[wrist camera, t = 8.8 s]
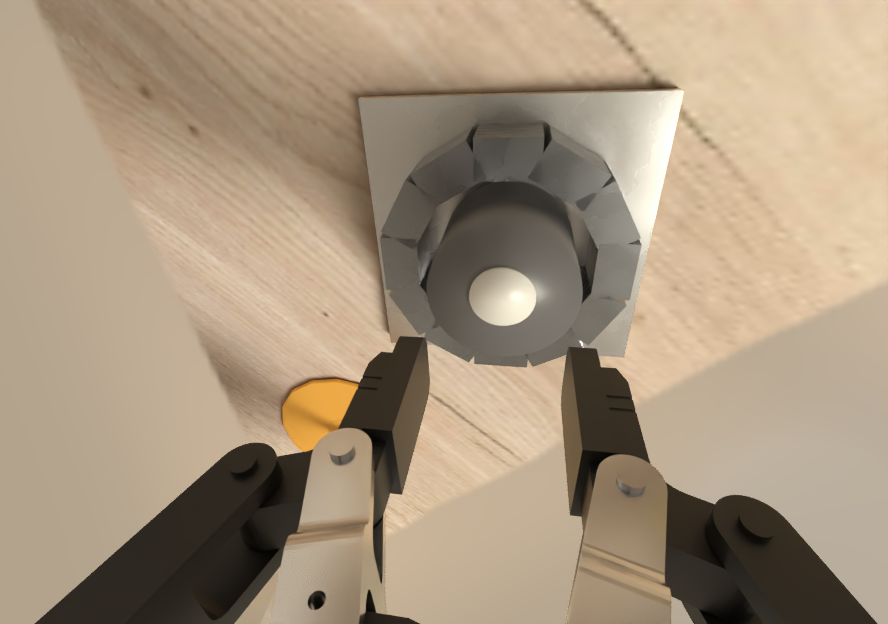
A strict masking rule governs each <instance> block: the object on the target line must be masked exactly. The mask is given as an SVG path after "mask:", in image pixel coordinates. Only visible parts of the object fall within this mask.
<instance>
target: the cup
mask: <svg viewBox="0 0 888 624" xmlns="http://www.w3.org/2000/svg"><path fill="white" fill-rule="evenodd" d="M358 385H359V384H356V383H352V382H348V381H344V380H341V379H327V380H312V381H310V382H307V383H305V384H303V385H301V386H299V387H297V388H295V389H293V390H292V392H291V393H290V395H289V396H288V398H287V399H286V401H285V402H284V404H283V406H282V417H283V425H284V427H285V429H286V431H287V433H288V435H289V436H290V438H291V440H292V442H293V443H294V444H295V445H296V446H297V447H298V448H299V449H300V450H301V451H303V452H306V451H310V450H312V449H314V447H315V445H316V444H317V443H318V441H319V440H320V439H321V438H323V437H324V436H325V435H327V434H328V433H330V432H332V431H335V430H338V428H339V426H340V424H341V421H342V419H343V417H344V415H345V413H346V411H347V409H348V407H349V404H350V402H351V400H352V398H353V396H354V394H355V392H356V389H358ZM280 567H281V566H280ZM280 567H279V569H278V570H277V571H276V572H275V574H274V575H273V576H272V577H271V579H270V580H269V581H268V582H267V584H266V585H265V586H264V587H263V589H262V590H261V591H260V592H259V594H258V595H257V596H256V597H255V599H254V600H253V601H252V602H251V604H250V605H249V606H248V607H247V609H246V610H245V611H244V612H243V613H242V615H241V616H240V617H239V618H238V620H237V621H236V622H235V623H234V624H269V621H270V616H271V611H272V606H273V601H274V596H275V591H276V586H277V581H278V576H279V572H280Z"/></svg>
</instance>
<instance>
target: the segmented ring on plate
mask: <svg viewBox="0 0 888 624" xmlns="http://www.w3.org/2000/svg"><path fill="white" fill-rule="evenodd" d="M683 94H684V90H682V89H680V88H667V89H628V90H589V91H551V92H512V93H473V94H434V95H396V96H363V97H360V98H358V101H359V108H360V116H361V123H362V131H363V138H364V146H365V153H366V161H367V168H368V175H369V183H370V190H371V198H372V205H373V213H374V220H375V228H376V235H377V242H378V250H379V257H380V265H381V272H382V280H383V287H384V295H385V302H386V310H387V317H388V324H389V332H390V339H391V342H392V343H397V341H398V338H399V337H400V336H409V337H425V338H426V341H427V345H437V346H438V347H440V348H442V349H444V350H446V351H448V352H450V353H452V354H454V355H456V356H458V357H460V358H462V359H464V360H466V361H468V362H469V361H470V360H471V359H472V358H473V356H474V363H475V364H485V365H499V366H513V367H527V359H528V360H529V362H530V363H531V365H532V366H536V365H539V364H542V363H545V362H547V361H550V360H553V359H556V358H559V357H561V356H564V355H567V350H568V347H581V348H596V349H597V352H598V356H610V357H624V354H625V349H626V345H627V341H628V336H629V332H630V327H631V323H632V318H633V314H634V310H635V305H636V301H637V296H638V292H639V288H640V283H641V279H642V274H643V270H644V266H645V261H646V257H647V252H648V248H649V243H650V239H651V235H652V230H653V226H654V221H655V217H656V213H657V208H658V204H659V199H660V195H661V191H662V186H663V182H664V177H665V173H666V169H667V164H668V160H669V155H670V151H671V146H672V142H673V138H674V133H675V129H676V124H677V120H678V116H679V111H680V107H681V102H682V98H683ZM497 182H522V183H527V184H530V185H533V186H536V187H538V188H540V189H542V190H544V191H546V192H547V193H548V194H550V195H551V196H552V197H554V198H555V199H556V200H557V201H558V202H559V204H560V205H561V206H562V207H563V209H564V210H565V212H566V214H567V216H568V218H569V221H570V224H571V228H572V232H573V237H574V243H575V248H576V253H577V258H578V264H579V269H580V274H581V279H582V287H583V296H582V303H581V308H580V310H579V313H578V316H577V318H576V319H575V321H574V323H573V324H572V326H571V327H570V328H569V330H568V331H567V332H566V333H565V334H564V335H563V336H562V337H561V338H559V339H558V340H557V341H555V342H554V343H553V344H551V345H549V346H547V347H546V348H543V349H541V350H539V351H536V352H533V353H530V354H525V355H520V356H493V355H488V354H483V353H480V352H477V351H474V350H472V349H469V348H467V347H465V346H463V345H462V344H460V343H458V342H457V341H455V340H454V339H453V338H451V337H450V336H449V335H448V334H447V333H446V332H445V331H444V330H443V329H442V328H441V326H440V325H439V324H438V322H437V321H436V319H435V318H434V316H433V314H432V312H431V309H430V306H429V303H428V298H427V280H428V275H429V271H430V268H431V265H432V263H433V260H434V258H435V255H436V253H437V250H438V248H439V245H440V243H441V240H442V237H443V235H444V232H445V230H446V227H447V225H448V222H449V220H450V218H451V215H452V213H453V212H454V210H455V209H456V207H457V206H458V205H459V204H460V202H461V201H462V200H463V199H464V198H466V197H467V196H468V195H469V194H471V193H472V192H474V191H475V190H477V189H479V188H481V187H483V186H486V185H489V184H492V183H497Z"/></svg>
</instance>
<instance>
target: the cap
mask: <svg viewBox="0 0 888 624" xmlns="http://www.w3.org/2000/svg"><path fill="white" fill-rule="evenodd" d="M582 296H583V287H582V279H581V274H580V269H579V264H578V258H577V253H576V248H575V243H574V237H573V232H572V228H571V224H570V221H569V218H568V216H567V214H566V212H565V210H564V209H563V207H562V206H561V205H560V204H559V202H558V201H557V200H556V199H555V198H554V197H552V196H551V195H550V194H548V193H547V192H546V191H544V190H542V189H540V188H538V187H536V186H533V185H530V184H527V183H522V182H497V183H492V184H489V185H486V186H483V187H481V188H479V189H477V190H475V191H474V192H472V193H471V194H469V195H468V196H467V197H466V198H464V199H463V200H462V201H461V202H460V204H459V205H458V206H457V207H456V209H455V210H454V212H453V213H452V215H451V218H450V220H449V222H448V225H447V227H446V230H445V232H444V235H443V237H442V240H441V243H440V245H439V248H438V250H437V253H436V255H435V258H434V260H433V263H432V265H431V268H430V271H429V275H428V280H427V298H428V303H429V306H430V309H431V312H432V314H433V316H434V318H435V319H436V321H437V322H438V324H439V325H440V326H441V328H442V329H443V330H444V331H445V332H446V333H447V334H448V335H449V336H450V337H451V338H453V339H454V340H455V341H457V342H458V343H460V344H462V345H463V346H465V347H467V348H469V349H472V350H474V351H477V352H480V353H483V354H488V355H493V356H520V355H525V354H530V353H533V352H536V351H539V350H541V349H543V348H546V347H547V346H549V345H551V344H553V343H554V342H555V341H557V340H558V339H559V338H561V337H562V336H563V335H564V334H565V333H566V332H567V331H568V330H569V328H570V327H571V326H572V324H573V323H574V321H575V319H576V318H577V316H578V313H579V310H580V308H581V303H582Z"/></svg>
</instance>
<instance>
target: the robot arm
mask: <svg viewBox="0 0 888 624" xmlns="http://www.w3.org/2000/svg"><path fill="white" fill-rule="evenodd" d="M429 385H430V377H429V364H428V352H427V341H426V338H425V337H409V336H400V337H399V338H398V341H397V343H396V346H395V348H394V350H393V353H388V352H381V353H380V354H378V355H377V356H376V357H375V358H374V359H373V360H372V361H371V362H369V364H368V366H367V368H366V370H365V372H364V375H363V379H361V381H360V383H359V385H358V389H356V392H355V394H354V396H353V398H352V400H351V402H350V404H349V407H348V409H347V411H346V413H345V415H344V417H343V419H342V421H341V424H340V426H339V428H338V430H335V431H332V432H330V433H328V434H327V435H325V436H324V437H323V438H321V439H320V440H319V441H318V443H317V444H316V445H315V447H314V449H312V450H310V451H306V452H301V453H295V454H290V455H284V456H278V457H277V455H276V453H275V451H274V449H273V448H272V447H270V446H269V445H267V444H264V443H249V444H245V445H242V446H239V447H237V448H235V449H233V450H231V451H230V452H228V453H227V454H226V455H225V456H223V457H222V458H221V459H220V460H219V461H218V462H217V463H215V464H214V465H213V466H212V467H211V468H210V469H209V470H208V471H206V472H205V473H204V474H203V475H202V476H201V477H200V478H199V479H197V480H196V481H195V482H194V483H193V484H192V485H191V486H190V487H188V488H187V489H186V490H185V491H184V492H183V493H182V494H180V495H179V496H178V497H177V498H176V499H175V500H174V501H173V502H171V503H170V504H169V505H168V506H167V507H166V508H165V509H164V510H162V511H161V513H159V514H158V515H157V516H156V517H155V518H153V520H151V521H150V522H149V523H148V524H147V525H146V526H144V527H143V528H142V529H141V530H140V531H139V532H138V533H137V534H136V535H134V536H133V537H132V538H131V539H130V540H129V541H128V542H126V543H125V544H124V545H123V546H122V547H121V548H120V549H118V550H117V551H116V552H115V553H114V554H113V555H112V556H111V557H109V558H108V559H107V560H106V561H105V562H104V563H103V564H102V565H100V566H99V567H98V568H97V569H96V570H95V571H94V572H93V573H91V574H90V575H89V576H88V577H87V578H86V579H85V580H84V581H83V582H81V583H80V584H79V585H78V586H77V587H76V588H75V589H73V590H72V591H71V592H70V593H69V594H68V595H67V596H66V597H64V598H63V599H62V600H61V601H60V602H59V603H58V604H56V605H55V606H54V607H53V608H52V609H51V610H50V611H49V612H47V613H46V614H45V615H44V616H43V617H42V618H41V619H40V620H38V621H37V622H36V623H35V624H234V623H235V622H236V621H237V620H238V618H239V617H240V616H241V615H242V613H243V612H244V611H245V610H246V609H247V607H248V606H249V605H250V604H251V602H252V601H253V600H254V599H255V597H256V596H257V595H258V594H259V592H260V591H261V590H262V589H263V587H264V586H265V585H266V584H267V582H268V581H269V580H270V579H271V577H272V576H273V575H274V574H275V572H276V571H277V570H278V569H279V567H280V566H281V567H280V572H279V576H278V581H277V586H276V591H275V596H274V601H273V606H272V611H271V616H270V621H269V624H419V623H417V622H415V621H413V620H411V619H409V618H404V617H398V616H392V615H387V607H386V596H385V544H386V515H385V508H386V505H387V501H388V498H389V495H390V493H393V494H402V492H403V489H404V485H405V481H406V478H407V474H408V470H409V466H410V463H411V459H412V455H413V452H414V448H415V444H416V440H417V437H418V433H419V429H420V426H421V422H422V418H423V414H424V411H425V407H426V403H427V400H428V395H429ZM561 411H562V423H563V436H564V448H565V460H566V472H567V483H568V484H567V485H568V497H569V509H570V515H573V516H581V517H582V525H583V535H582V540H581V545H580V550H579V555H578V560H577V565H576V570H575V575H574V580H573V585H572V590H571V596H570V601H569V606H568V611H567V616H566V621H565V624H671V596H672V597H674V598H677V599H679V600H681V601H682V603H683V605H684V607H685V609H686V611H687V612H688V614H689V616H690V618H691V620H692V621H693V623H694V624H877V623H876V622H875V620H874V619H873V618H872V617H871V616H870V615H869V614H868V612H867V611H866V610H865V609H864V608H863V607H862V606H861V604H859V602H858V601H857V600H856V599H855V598H854V596H853V595H852V594H851V593H850V592H849V591H848V590H847V589H846V587H845V586H844V585H843V584H842V583H841V582H840V580H839V579H838V578H837V577H836V576H835V575H834V574H833V572H832V571H831V570H830V569H829V568H828V567H827V566H826V564H825V563H824V562H823V561H822V560H821V559H820V558H819V556H818V555H817V554H816V553H815V552H814V551H813V550H812V549H811V547H810V546H809V545H808V544H807V543H806V542H805V541H804V539H803V538H802V537H801V536H800V535H799V534H798V533H797V531H796V530H795V529H794V528H793V527H792V526H791V525H790V523H789V522H788V521H787V520H786V519H785V518H784V517H783V516H782V515H781V514H780V513H778V512H777V511H776V510H775V509H773V508H772V507H770V506H769V505H767V504H765V503H763V502H761V501H759V500H756V499H754V498H750V497H747V496H742V495H730V496H726V497H723V498H721V499H719V500H718V501H717V502H716V504H715V505H714V504H712V503H709V502H707V501H704V500H701V499H698V498H696V497H693V496H690V495H688V494H685V493H683V492H681V491H679V490H677V489H675V488H673V487H672V486H670V485H669V484H667V483H666V482H665V480H664V478H663V476H662V475H661V474H660V472H659V471H658V470H656V468H655V467H653V466H652V465H651V464H650V461H649V458H648V454H647V451H646V447H645V443H644V440H643V436H642V432H641V429H640V425H639V421H638V418H637V414H636V413H635V406H634V403H633V400H632V395H631V392H630V388H629V384H628V382H627V380H626V379H625V378H624V377H623V376H622V375H621V373H620V372H619V371H618V370H617V369H616V368H603V367H601V366H600V361H599V357H598V352H597V349H596V348H581V347H568V350H567V356H566V363H565V371H564V378H563V385H562V396H561Z"/></svg>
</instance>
